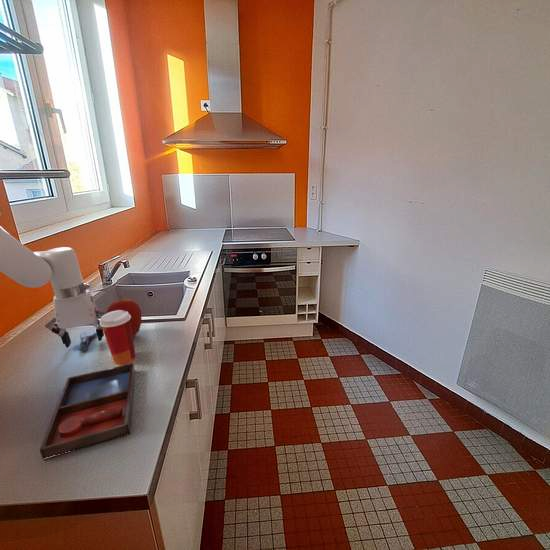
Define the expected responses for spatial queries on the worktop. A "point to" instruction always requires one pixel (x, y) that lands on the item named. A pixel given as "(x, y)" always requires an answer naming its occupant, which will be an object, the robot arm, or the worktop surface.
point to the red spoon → (86, 421)
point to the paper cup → (119, 336)
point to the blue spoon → (86, 339)
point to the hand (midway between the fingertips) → (84, 341)
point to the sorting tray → (92, 409)
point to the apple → (131, 309)
